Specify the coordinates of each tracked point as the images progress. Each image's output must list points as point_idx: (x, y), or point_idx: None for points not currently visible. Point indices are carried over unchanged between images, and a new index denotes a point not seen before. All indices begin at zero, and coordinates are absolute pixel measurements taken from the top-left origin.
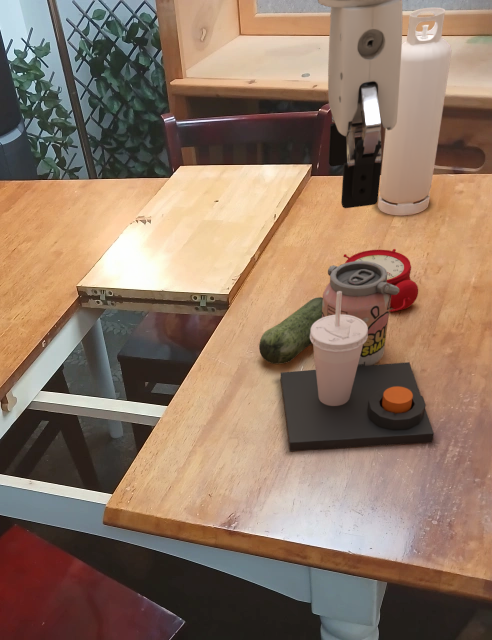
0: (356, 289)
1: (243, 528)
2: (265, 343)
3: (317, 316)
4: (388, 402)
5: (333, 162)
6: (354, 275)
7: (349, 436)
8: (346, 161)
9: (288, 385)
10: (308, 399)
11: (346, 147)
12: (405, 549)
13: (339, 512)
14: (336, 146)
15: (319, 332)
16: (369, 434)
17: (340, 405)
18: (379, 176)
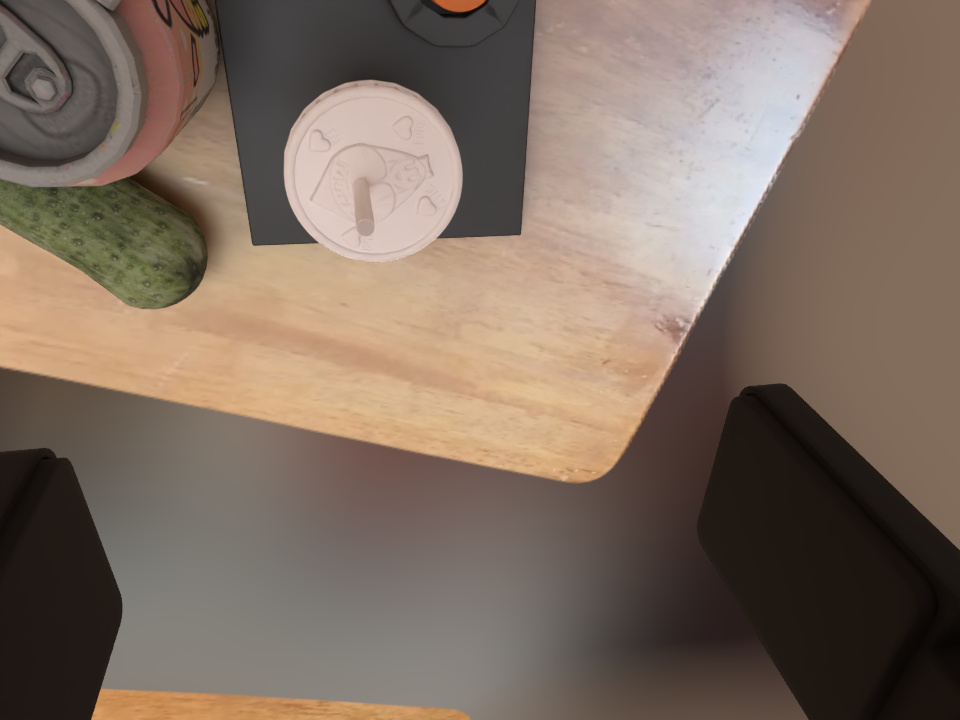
0: (141, 99)
1: (692, 308)
2: (177, 299)
3: None
4: (483, 1)
5: (110, 613)
6: (2, 86)
7: (522, 103)
8: (88, 544)
9: None
10: None
11: (57, 642)
12: (821, 29)
13: (700, 143)
14: (76, 713)
15: (386, 238)
16: (522, 53)
17: None
18: (899, 496)
